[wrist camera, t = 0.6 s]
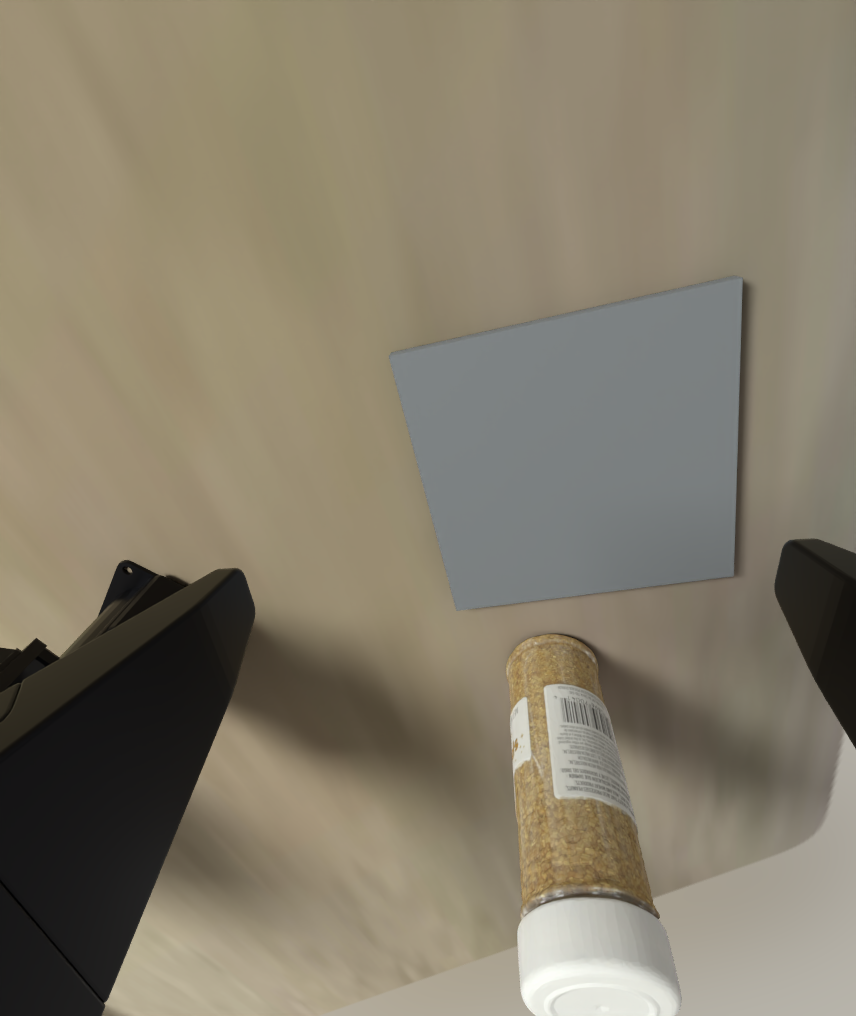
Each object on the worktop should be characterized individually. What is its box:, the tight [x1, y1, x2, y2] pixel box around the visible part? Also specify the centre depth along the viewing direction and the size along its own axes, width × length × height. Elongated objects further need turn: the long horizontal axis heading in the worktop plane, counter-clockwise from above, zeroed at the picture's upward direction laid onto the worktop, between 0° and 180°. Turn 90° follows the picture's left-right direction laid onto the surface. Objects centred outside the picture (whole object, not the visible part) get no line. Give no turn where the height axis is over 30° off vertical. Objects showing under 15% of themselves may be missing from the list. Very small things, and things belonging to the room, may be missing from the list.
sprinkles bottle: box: [506, 634, 682, 1016], centre depth 21 cm, size 5×5×13 cm
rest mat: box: [389, 276, 743, 611], centre depth 22 cm, size 12×12×1 cm
